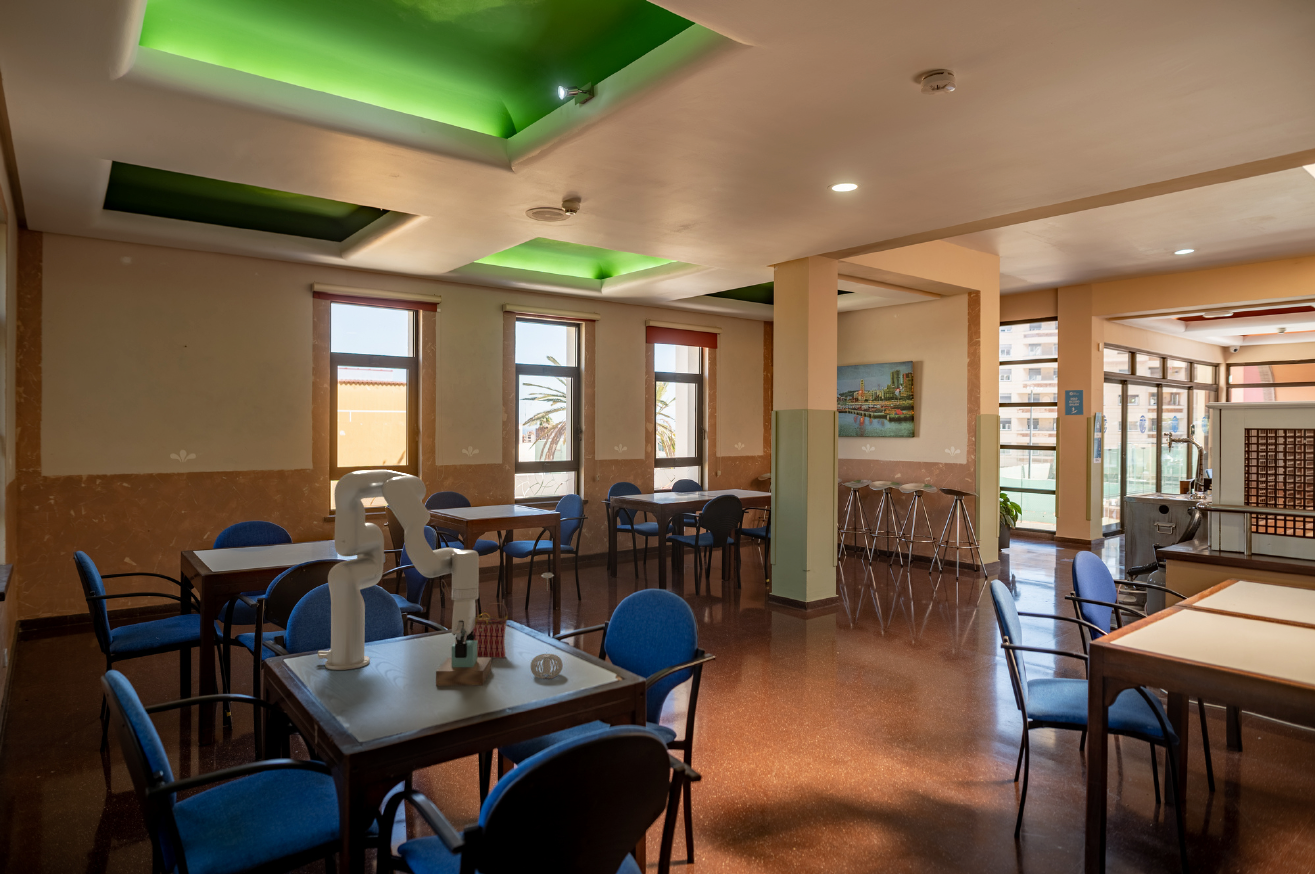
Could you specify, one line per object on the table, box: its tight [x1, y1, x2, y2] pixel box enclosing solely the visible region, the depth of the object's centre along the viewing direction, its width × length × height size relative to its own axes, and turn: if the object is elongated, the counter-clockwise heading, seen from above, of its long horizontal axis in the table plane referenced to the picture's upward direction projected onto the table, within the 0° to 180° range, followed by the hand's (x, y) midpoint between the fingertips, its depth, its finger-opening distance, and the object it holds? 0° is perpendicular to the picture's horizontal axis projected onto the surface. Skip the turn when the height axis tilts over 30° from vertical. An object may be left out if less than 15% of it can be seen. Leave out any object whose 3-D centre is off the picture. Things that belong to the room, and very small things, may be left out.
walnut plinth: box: [435, 657, 492, 687], centre depth 212 cm, size 13×13×4 cm
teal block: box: [451, 641, 478, 667], centre depth 212 cm, size 6×6×6 cm
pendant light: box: [530, 572, 564, 680], centre depth 214 cm, size 9×9×30 cm
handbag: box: [440, 579, 508, 659], centre depth 232 cm, size 7×21×25 cm, turn 84°
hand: (464, 652), depth 212 cm, fingers open, 9 cm apart
